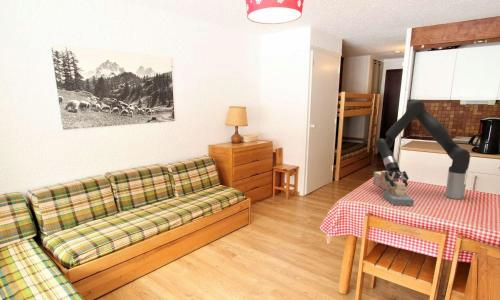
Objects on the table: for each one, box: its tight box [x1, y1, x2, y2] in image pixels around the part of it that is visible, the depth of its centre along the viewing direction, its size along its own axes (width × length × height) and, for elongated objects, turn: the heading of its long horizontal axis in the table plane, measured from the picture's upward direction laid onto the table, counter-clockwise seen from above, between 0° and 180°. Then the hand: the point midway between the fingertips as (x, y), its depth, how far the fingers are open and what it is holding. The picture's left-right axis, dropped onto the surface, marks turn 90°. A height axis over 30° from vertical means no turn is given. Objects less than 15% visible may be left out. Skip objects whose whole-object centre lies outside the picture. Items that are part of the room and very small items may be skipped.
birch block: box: [392, 181, 406, 196], centre depth 175 cm, size 5×5×8 cm
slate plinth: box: [382, 190, 415, 207], centre depth 176 cm, size 12×16×4 cm
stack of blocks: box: [372, 170, 400, 191], centre depth 204 cm, size 21×6×12 cm, turn 6°
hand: (400, 186), depth 173 cm, fingers open, 8 cm apart
